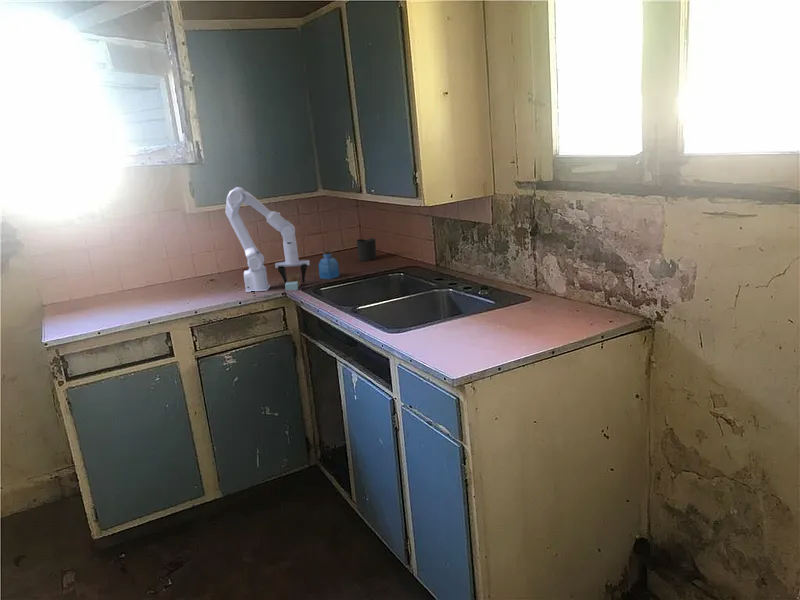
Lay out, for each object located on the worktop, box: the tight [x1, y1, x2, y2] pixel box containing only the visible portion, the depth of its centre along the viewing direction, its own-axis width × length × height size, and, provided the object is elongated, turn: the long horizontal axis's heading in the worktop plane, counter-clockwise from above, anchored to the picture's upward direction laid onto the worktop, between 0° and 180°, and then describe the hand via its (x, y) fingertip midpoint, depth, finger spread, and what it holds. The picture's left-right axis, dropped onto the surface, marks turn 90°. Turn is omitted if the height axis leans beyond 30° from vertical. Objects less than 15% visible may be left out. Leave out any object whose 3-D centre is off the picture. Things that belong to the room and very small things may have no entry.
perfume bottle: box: [318, 250, 340, 280], centre depth 293 cm, size 6×6×12 cm
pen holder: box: [356, 237, 377, 262], centre depth 325 cm, size 9×9×10 cm
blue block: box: [284, 281, 300, 291], centre depth 278 cm, size 5×5×3 cm
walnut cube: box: [287, 274, 302, 287], centre depth 283 cm, size 4×4×4 cm
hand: (294, 282), depth 283 cm, fingers open, 7 cm apart
